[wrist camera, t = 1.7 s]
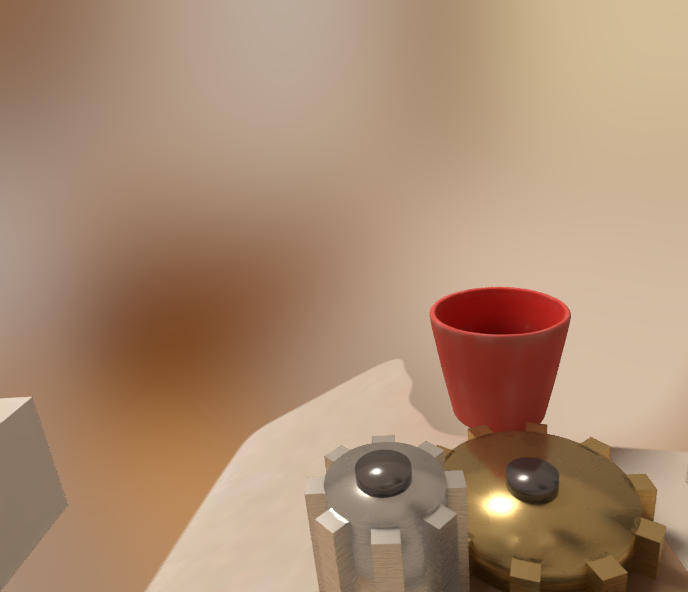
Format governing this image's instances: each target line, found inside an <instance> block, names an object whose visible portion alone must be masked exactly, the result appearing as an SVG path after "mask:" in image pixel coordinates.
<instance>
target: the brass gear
mask: <svg viewBox="0 0 688 592" xmlns="http://www.w3.org/2000/svg"><path fill="white" fill-rule="evenodd" d="M437 447H439V448H441V449H443V450H444V454H445V471H457V470H463V474H464V478H465V482H466V486H467V513H468V549H469V577H471V576H472V575H474V576H475V577H477V578H478V579H480V580H482V581H483V582H485V583H487V584H488V585H490V586H492V587H495V588H497V589H499V590H501V591H503V592H626V583H627V576H628V575H629V574H630V572H631V571H635V572H637V573H639V574H642V575H644V576H647V577H649V578H651V579H654V580H656V578H657V575H658V572H659V568H660V565H661V560H662V552H663V545H664V537H665V529H666V526H664V525H661V524H658V523H656V522H653V521H654V513H655V504H656V496H657V489H656V487H655V486H654V485H653V483H652V482H651V481H650V479H649V478H648V476H647V475H646V474H630V475H626V474H625V473H624V472H623V471H622V470H621V469H620V468H619V467H618V466H616V465H615V464H614V463H613V462H611V461H610V448H611V447H610V446H608V445H606V444H604V443H602V442H600V441H597V440H596V439H594V438H592V437H591V438H589V439H587V440H586V441H584V442H583V443H581V444H580V443H577V442H574V441H571V440H569V439H565V438H562V437H558V436H555V435H550V434H547V425H546V424H537V423H528V422H526V431H506V432H496V433H493V432H492V431H491V430H490V429H489V428H488V427H487V426H486V425H481V426H477V427H473V428H470V429H468V441H466V442H464V443H462V444H460V445H459V446H457V447H456V448H454V449H453V450H450V449H447V448H444V447H442V446H439V445H437Z"/></svg>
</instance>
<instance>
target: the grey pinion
mask: <svg viewBox="0 0 688 592" xmlns="http://www.w3.org/2000/svg"><path fill="white" fill-rule="evenodd" d="M324 458H325V465H326V475H325V477H308V479H307V484H306V489H305V500H306V507H307V514H308V520H309V527H310V533H311V540H312V546H313V553H314V559H315V566H316V572H317V579H318V585H319V592H470V584H469V549H468V513H467V486H466V482H465V478H464V474H463V470H457V471H445V454H444V450H443V449H441V448H439V447H437V446H435V445H433V444H431V443H429V442H427V441H425V442H424V443H422V444H421V445H420V446H418V447H415V446H412V445H409V444H404V443H398V442H395V435H389V436H372V444H367V445H363V446H360V447H357V448H354V449H352V450H349V449H347V448H345V447H344V446H342V445H341V446H340V447H338V448H337V449H335V450H333V451H332V452H330V453H329V454H327V455H325V456H324Z"/></svg>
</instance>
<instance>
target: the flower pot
mask: <svg viewBox="0 0 688 592" xmlns="http://www.w3.org/2000/svg"><path fill="white" fill-rule="evenodd" d="M430 319H431V325H432V330H433V334H434V338H435V342H436V346H437V351H438V355H439V359H440V363H441V367H442V371H443V375H444V378H445V382H446V386H447V389H448V393H449V396H450V400H451V403H452V407H453V411H454V413H455V415H456V417H457V418H458V419H459V420H460V421H461V422H462V423H463V424H465V425H466V426H468V427H470V428H473V427H477V426H481V425H486V426H487V427H488V428H489V429H490V430H491V431H492V432H493V433H496V432H506V431H526V422H528V423H537V424H540V423H541V422H542V420H543V418H544V416H545V413H546V410H547V407H548V403H549V400H550V396H551V393H552V389H553V386H554V382H555V379H556V375H557V371H558V367H559V363H560V359H561V355H562V351H563V347H564V344H565V340H566V336H567V332H568V328H569V324H570V319H571V314H570V310H569V308H568V307H567V306H566V305H565V304H564V303H563V302H561V301H560V300H558V299H556V298H554V297H552V296H549V295H547V294H544V293H540V292H537V291H533V290H528V289H521V288H513V287H488V288H487V287H486V288H476V289H469V290H464V291H460V292H457V293H453V294H450V295H448V296H445V297H443V298H442V299H440V300H438V301H437V302H436V303H435V304H434V305H433V306H432V307H431V309H430Z"/></svg>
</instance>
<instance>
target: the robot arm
mask: <svg viewBox="0 0 688 592" xmlns="http://www.w3.org/2000/svg"><path fill="white" fill-rule="evenodd" d="M685 482H686V483H687V484H688V466H687V473H686V481H685ZM67 506H68V503H67V500H66V497H65V494H64V491H63V488H62V485H61V482H60V479H59V476H58V473H57V470H56V467H55V464H54V461H53V458H52V455H51V452H50V449H49V446H48V443H47V440H46V437H45V433H44V430H43V428H42V424H41V421H40V418H39V415H38V412H37V409H36V406H35V403H34V400H33V397H20V398H2V399H0V591H1V590H2V589H3V588H4V586H5V585H6V584H7V583H8V581H9V580H10V579H11V578H12V576H13V575H14V574H15V572H16V571H17V570H18V569H19V567H20V566H21V565H22V563H23V562H24V561H25V560H26V558H27V557H28V556H29V555H30V553H31V552H32V551H33V549H34V548H35V547H36V545H37V544H38V543H39V542H40V540H41V539H42V538H43V537H44V535H45V534H46V533H47V531H48V530H49V529H50V528H51V526H52V525H53V524H54V523H55V521H56V520H57V519H58V517H59V516H60V515H61V514H62V512H63V511H64V510H65V508H66V507H67Z"/></svg>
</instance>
